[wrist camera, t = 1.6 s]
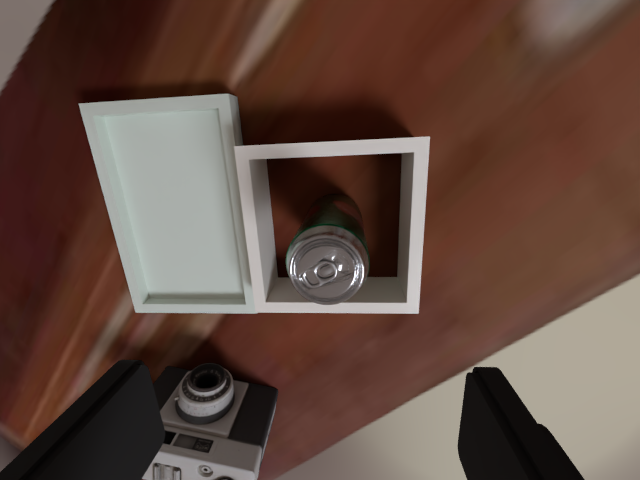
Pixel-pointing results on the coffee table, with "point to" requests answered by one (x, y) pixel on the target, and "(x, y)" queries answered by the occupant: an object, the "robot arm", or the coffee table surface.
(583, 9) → the coffee table surface
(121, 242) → the tray
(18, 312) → the coffee table surface
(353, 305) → the holder
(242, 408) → the camera
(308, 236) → the soda can
